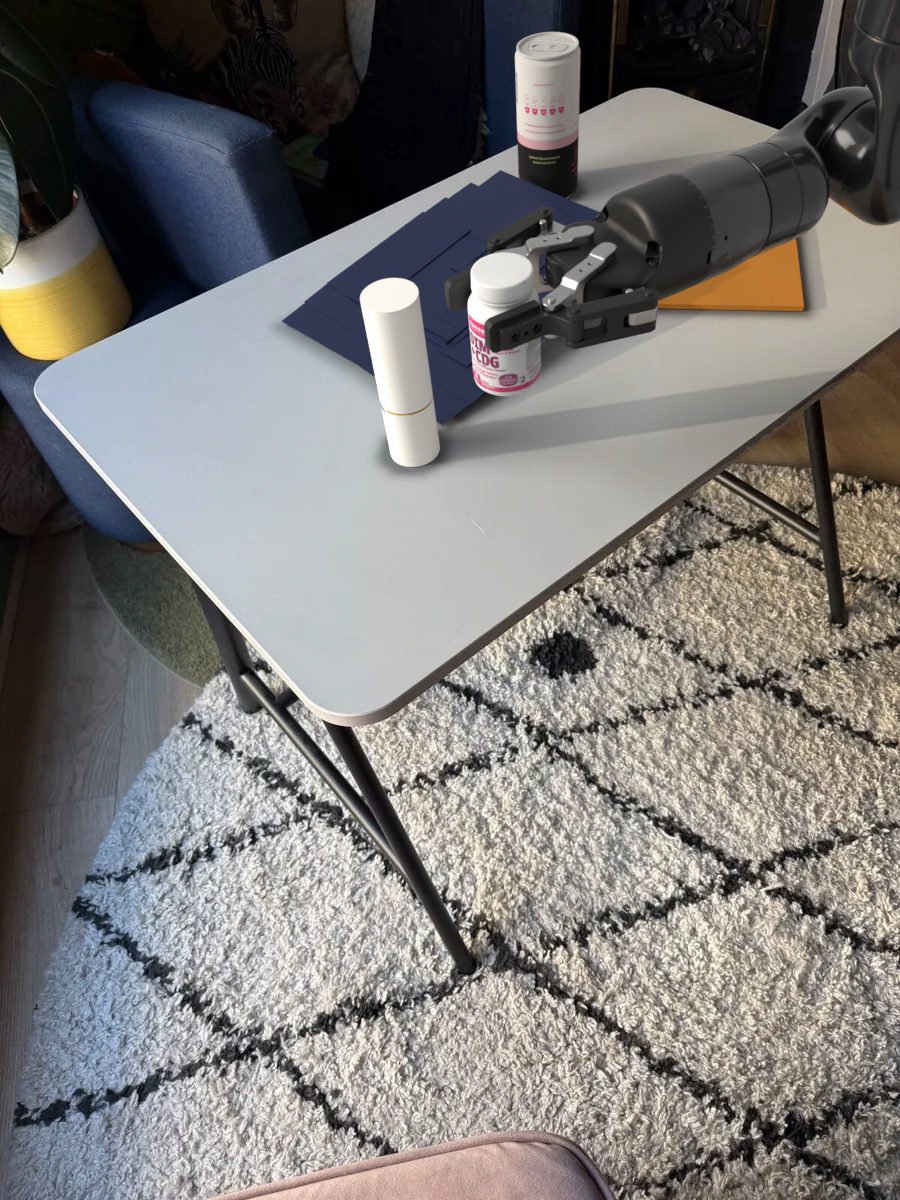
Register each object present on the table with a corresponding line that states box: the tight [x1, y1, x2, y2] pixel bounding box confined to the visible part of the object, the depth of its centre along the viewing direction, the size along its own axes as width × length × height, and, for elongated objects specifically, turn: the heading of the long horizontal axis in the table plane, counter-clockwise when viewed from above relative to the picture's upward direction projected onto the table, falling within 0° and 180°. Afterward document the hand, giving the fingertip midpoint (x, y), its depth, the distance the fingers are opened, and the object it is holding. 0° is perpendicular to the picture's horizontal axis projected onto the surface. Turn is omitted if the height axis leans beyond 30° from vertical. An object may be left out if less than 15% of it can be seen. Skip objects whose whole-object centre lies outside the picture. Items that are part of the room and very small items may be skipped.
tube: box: [360, 278, 441, 468], centre depth 69 cm, size 4×4×15 cm
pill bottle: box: [468, 252, 542, 397], centre depth 58 cm, size 5×5×8 cm
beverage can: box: [514, 31, 581, 199], centre depth 93 cm, size 6×6×15 cm
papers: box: [281, 169, 601, 426], centre depth 86 cm, size 24×30×4 cm
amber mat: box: [658, 238, 805, 312], centre depth 87 cm, size 16×14×1 cm
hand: (468, 316), depth 56 cm, fingers closed on pill bottle, 4 cm apart
